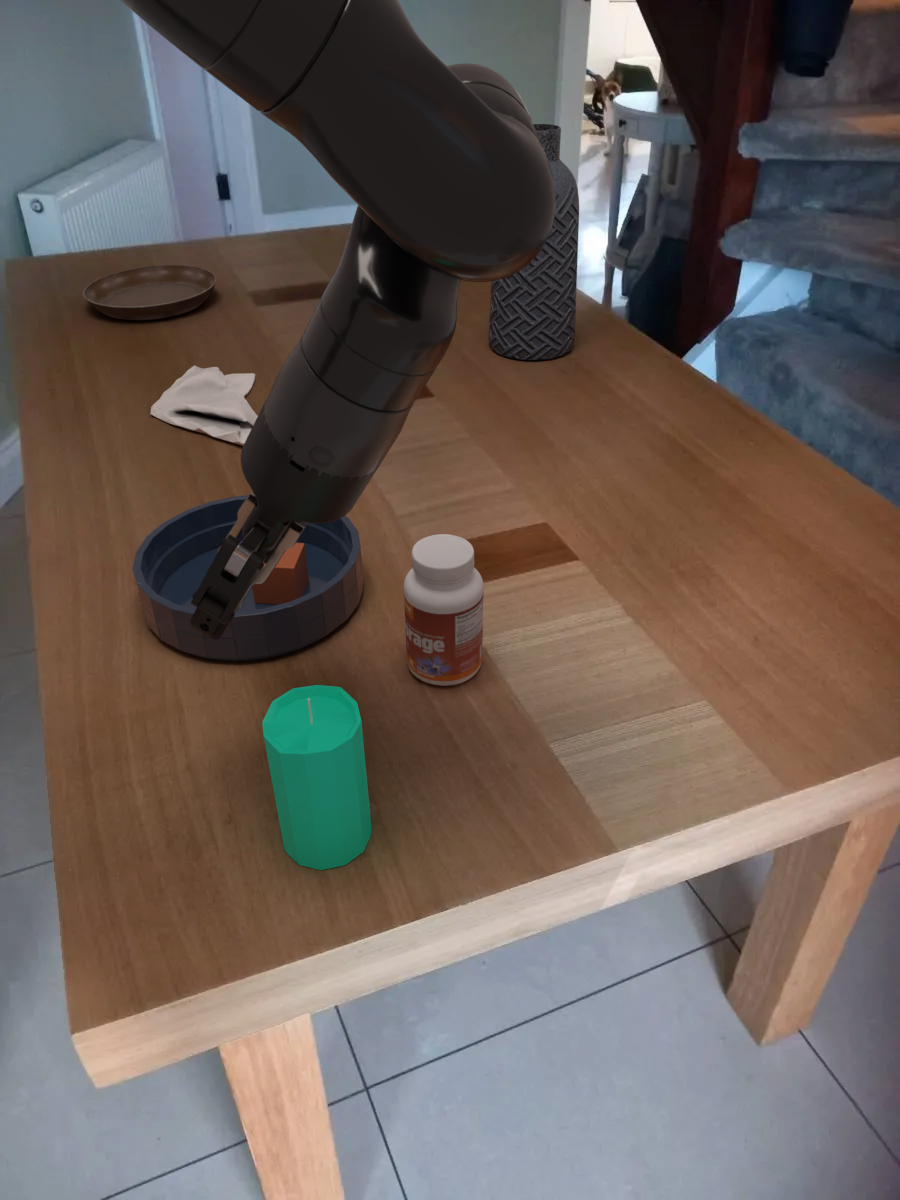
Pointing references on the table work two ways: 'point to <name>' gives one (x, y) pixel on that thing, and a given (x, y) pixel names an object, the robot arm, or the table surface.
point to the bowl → (257, 630)
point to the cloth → (209, 404)
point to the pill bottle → (443, 611)
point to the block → (285, 578)
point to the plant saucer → (150, 291)
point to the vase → (542, 278)
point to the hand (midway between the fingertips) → (234, 591)
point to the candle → (318, 775)
